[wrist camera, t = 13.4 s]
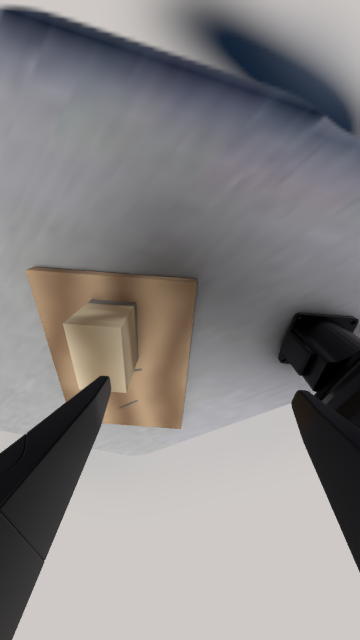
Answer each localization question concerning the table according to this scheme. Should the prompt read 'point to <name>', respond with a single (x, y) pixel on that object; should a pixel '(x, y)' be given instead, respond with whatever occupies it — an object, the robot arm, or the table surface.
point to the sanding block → (104, 342)
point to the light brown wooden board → (152, 328)
